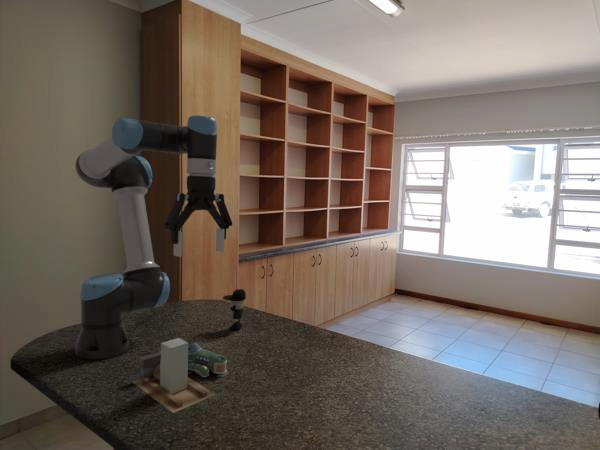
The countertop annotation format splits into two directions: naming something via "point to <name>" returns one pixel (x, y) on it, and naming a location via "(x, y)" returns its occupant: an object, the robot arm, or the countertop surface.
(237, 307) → the toy
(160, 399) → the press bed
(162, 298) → the robot arm
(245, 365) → the countertop surface
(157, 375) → the walnut
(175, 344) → the block
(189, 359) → the hoverbike
